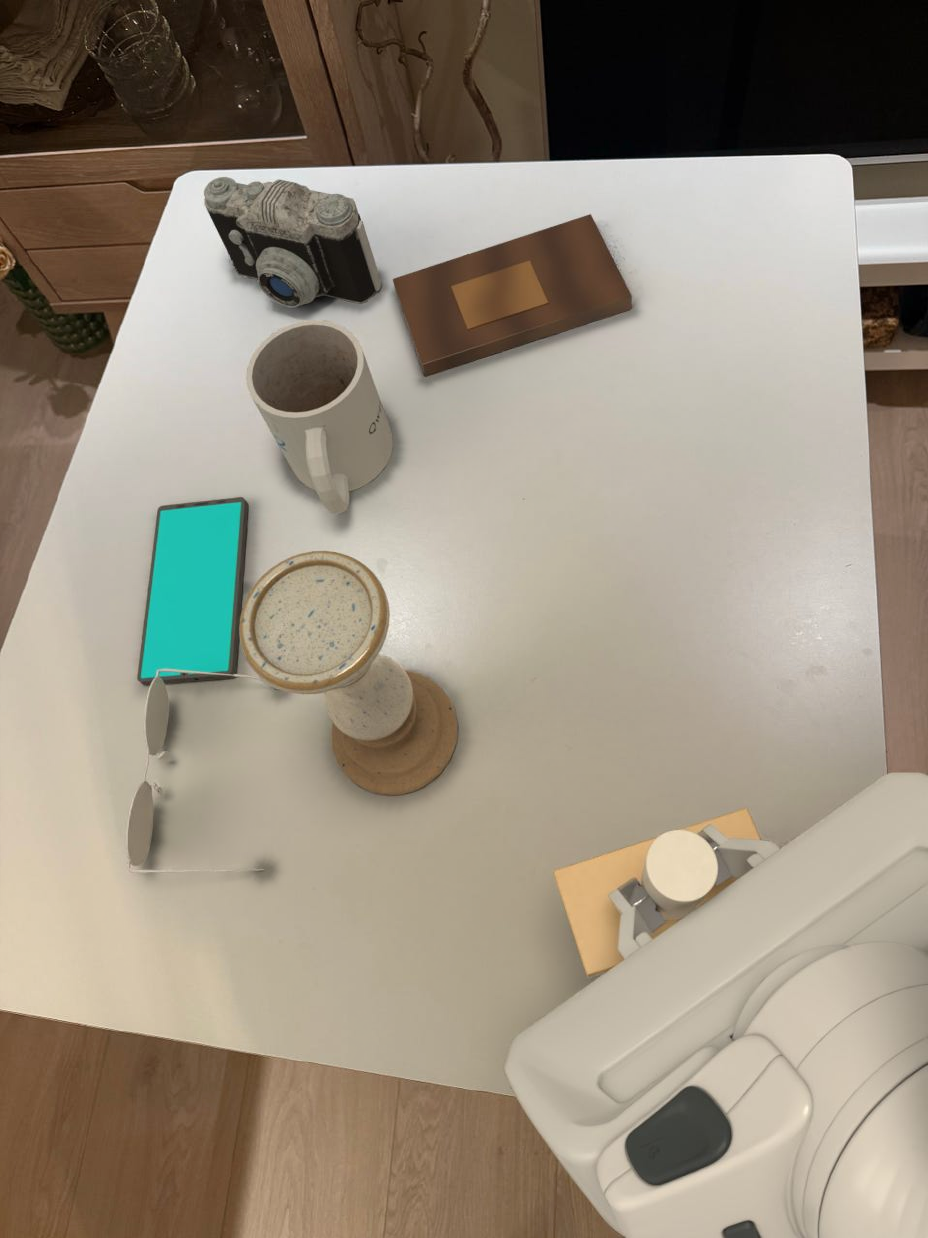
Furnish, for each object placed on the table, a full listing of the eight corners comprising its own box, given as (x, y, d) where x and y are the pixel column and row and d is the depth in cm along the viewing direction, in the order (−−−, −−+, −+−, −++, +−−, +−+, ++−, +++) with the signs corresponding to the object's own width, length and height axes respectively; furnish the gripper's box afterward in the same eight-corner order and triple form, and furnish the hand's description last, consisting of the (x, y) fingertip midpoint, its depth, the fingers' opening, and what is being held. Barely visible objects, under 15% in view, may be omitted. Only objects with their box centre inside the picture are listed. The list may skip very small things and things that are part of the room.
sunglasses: (171, 686, 66) (151, 662, 62) (285, 687, 67) (274, 663, 62) (143, 880, 61) (119, 869, 56) (268, 881, 61) (254, 870, 56)
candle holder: (473, 689, 63) (421, 555, 45) (437, 811, 60) (364, 720, 42) (358, 662, 65) (262, 523, 47) (317, 778, 62) (197, 677, 44)
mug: (298, 404, 75) (257, 321, 66) (398, 403, 74) (370, 318, 65) (274, 534, 70) (226, 463, 61) (380, 535, 69) (348, 462, 60)
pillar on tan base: (737, 820, 47) (775, 766, 37) (778, 916, 45) (830, 888, 34) (555, 880, 47) (541, 843, 37) (588, 978, 45) (582, 968, 35)
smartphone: (245, 496, 71) (231, 674, 65) (248, 501, 72) (235, 678, 66) (156, 506, 72) (135, 682, 66) (161, 511, 73) (140, 686, 67)
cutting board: (590, 227, 79) (590, 212, 77) (631, 309, 75) (632, 295, 73) (395, 291, 79) (391, 277, 77) (425, 376, 75) (421, 363, 73)
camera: (213, 298, 82) (164, 209, 72) (247, 244, 84) (204, 150, 75) (356, 334, 78) (324, 243, 68) (388, 275, 80) (361, 180, 71)
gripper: (1114, 832, 28) (823, 689, 40) (565, 1240, 25) (442, 951, 38) (1156, 970, 30) (868, 792, 43) (655, 1355, 28) (510, 1046, 41)
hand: (663, 869), depth 40 cm, fingers closed on pillar on tan base, 3 cm apart
